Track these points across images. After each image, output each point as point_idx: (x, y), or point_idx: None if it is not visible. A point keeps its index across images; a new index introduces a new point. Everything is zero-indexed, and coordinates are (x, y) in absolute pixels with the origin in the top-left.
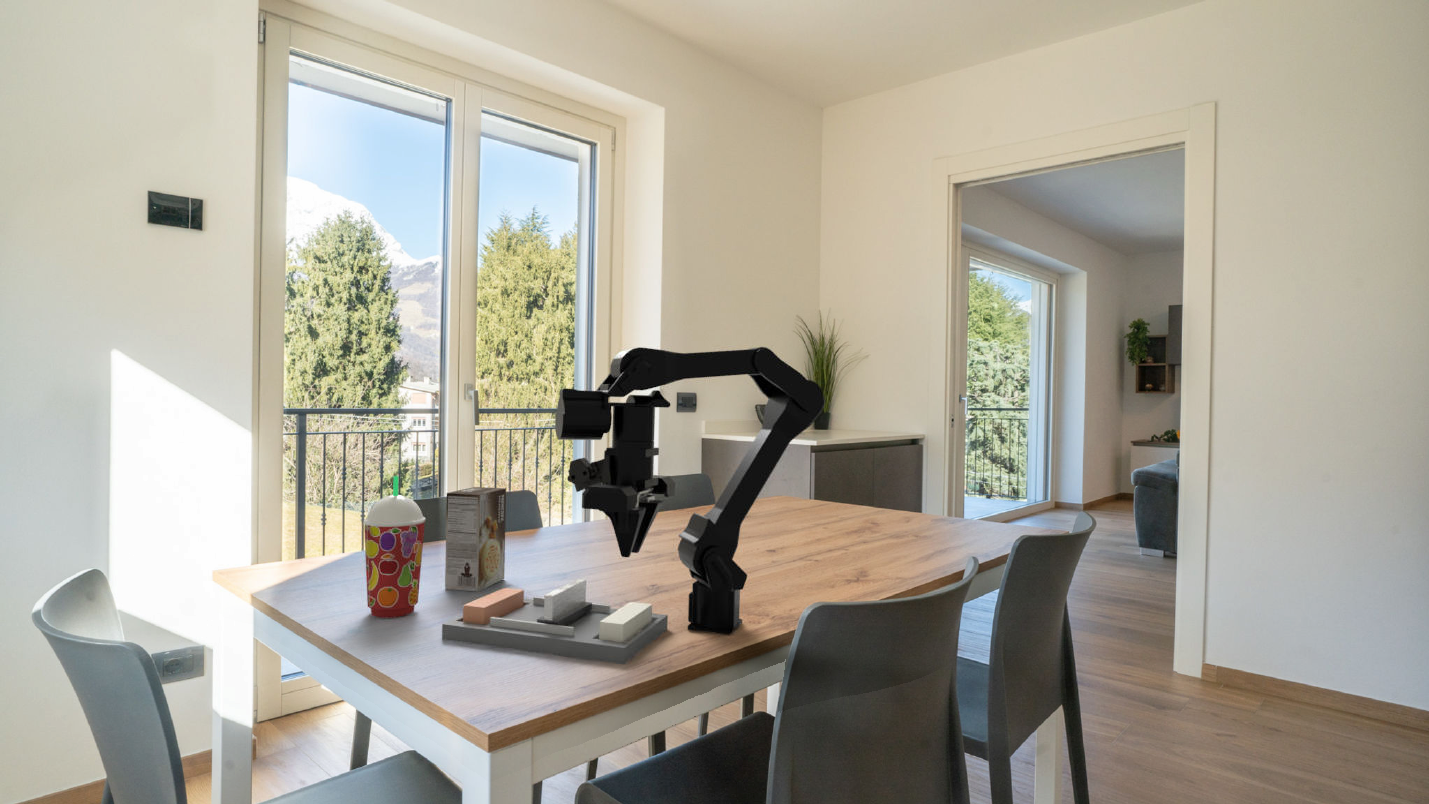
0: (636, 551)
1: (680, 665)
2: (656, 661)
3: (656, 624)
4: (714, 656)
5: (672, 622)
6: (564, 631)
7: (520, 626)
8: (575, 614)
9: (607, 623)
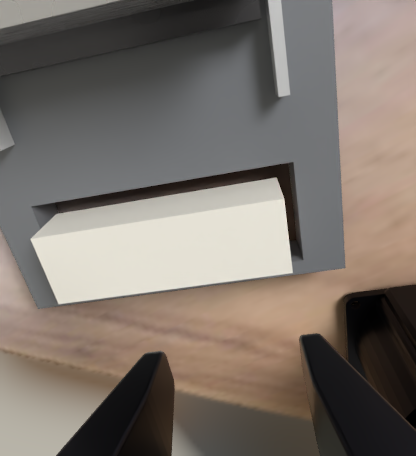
0: (303, 371)
1: (125, 368)
2: (114, 326)
3: (249, 279)
4: (208, 395)
5: (407, 227)
6: None
7: None
8: (113, 51)
9: (41, 261)
